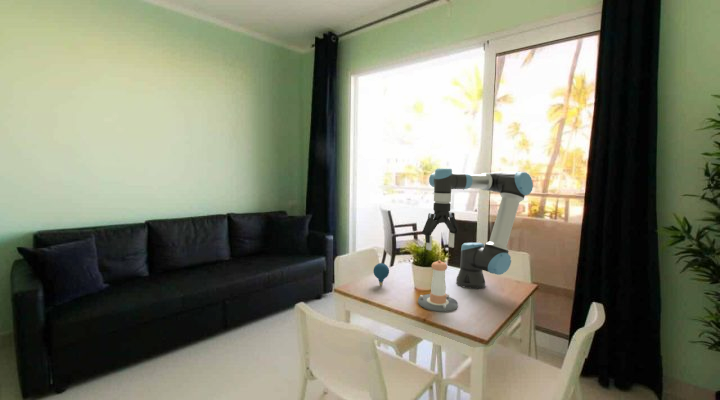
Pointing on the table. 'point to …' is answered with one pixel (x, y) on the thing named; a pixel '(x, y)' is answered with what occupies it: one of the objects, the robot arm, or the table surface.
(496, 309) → the table surface
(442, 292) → the pepper shaker
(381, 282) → the light bulb
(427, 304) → the stud plate
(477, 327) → the table surface
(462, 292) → the table surface
